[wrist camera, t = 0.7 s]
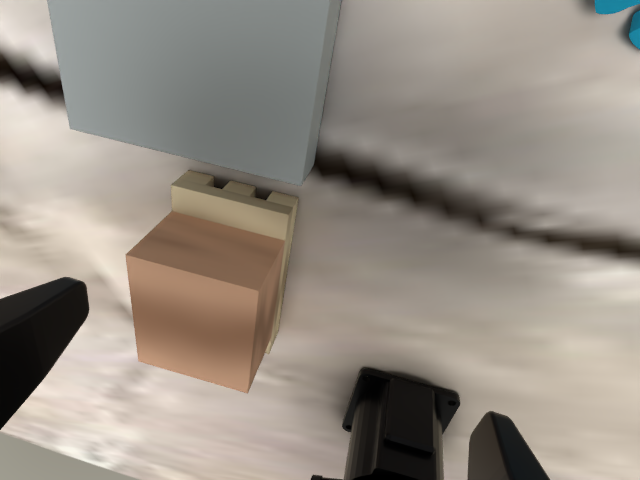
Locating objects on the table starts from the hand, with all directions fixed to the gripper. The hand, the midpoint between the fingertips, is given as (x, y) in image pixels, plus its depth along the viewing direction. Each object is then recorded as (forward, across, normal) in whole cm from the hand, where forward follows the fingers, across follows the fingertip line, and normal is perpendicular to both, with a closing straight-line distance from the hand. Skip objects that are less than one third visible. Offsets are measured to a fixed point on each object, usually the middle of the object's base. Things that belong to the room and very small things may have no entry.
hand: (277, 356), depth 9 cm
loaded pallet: (+13, +5, +8) cm, 16 cm away
